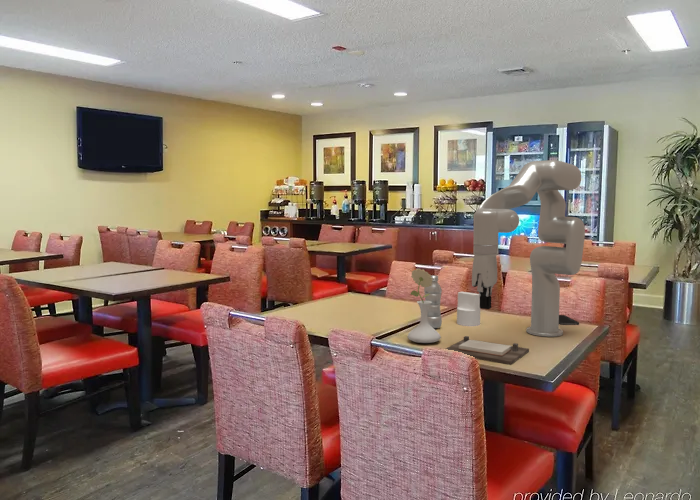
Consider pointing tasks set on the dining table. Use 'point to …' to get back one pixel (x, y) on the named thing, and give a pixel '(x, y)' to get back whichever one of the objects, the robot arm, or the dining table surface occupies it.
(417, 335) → the flower in vase
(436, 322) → the plastic bottle
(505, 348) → the tile
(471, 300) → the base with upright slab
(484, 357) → the board
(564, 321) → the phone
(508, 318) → the dining table surface
